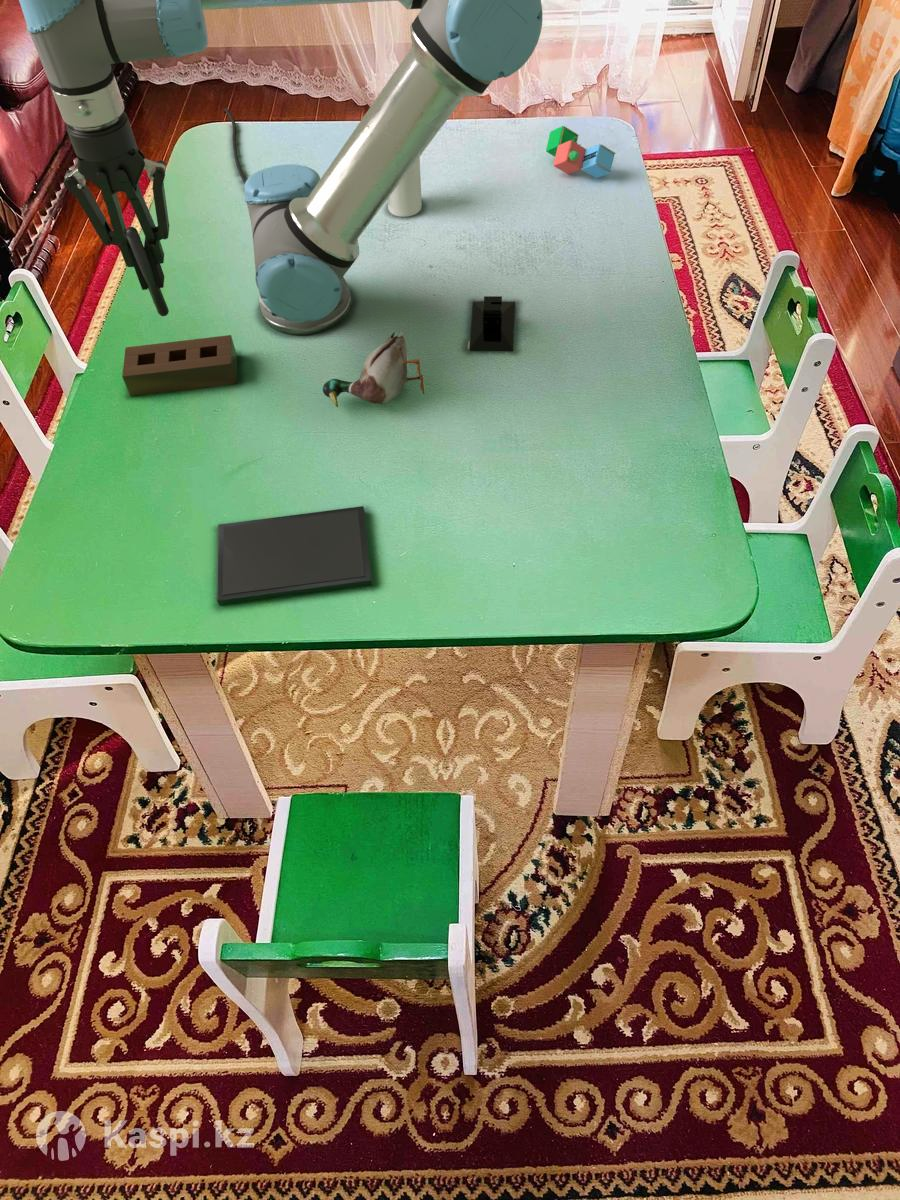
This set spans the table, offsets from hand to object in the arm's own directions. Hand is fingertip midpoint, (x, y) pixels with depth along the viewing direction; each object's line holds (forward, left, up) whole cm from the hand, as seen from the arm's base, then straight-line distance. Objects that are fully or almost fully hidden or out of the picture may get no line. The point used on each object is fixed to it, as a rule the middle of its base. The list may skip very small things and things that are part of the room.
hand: (153, 282), depth 132 cm
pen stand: (0, 0, -17) cm, 17 cm away
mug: (-40, +38, -17) cm, 58 cm away
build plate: (-3, +50, -17) cm, 53 cm away
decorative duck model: (+8, +30, -17) cm, 35 cm away
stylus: (0, 0, -5) cm, 5 cm away
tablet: (+40, +16, -17) cm, 46 cm away
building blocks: (-47, +74, -17) cm, 89 cm away
